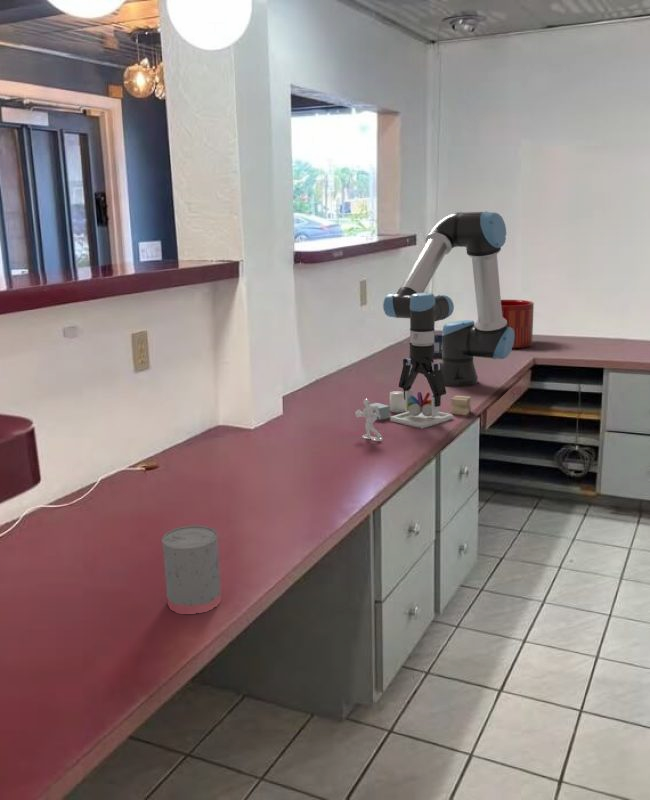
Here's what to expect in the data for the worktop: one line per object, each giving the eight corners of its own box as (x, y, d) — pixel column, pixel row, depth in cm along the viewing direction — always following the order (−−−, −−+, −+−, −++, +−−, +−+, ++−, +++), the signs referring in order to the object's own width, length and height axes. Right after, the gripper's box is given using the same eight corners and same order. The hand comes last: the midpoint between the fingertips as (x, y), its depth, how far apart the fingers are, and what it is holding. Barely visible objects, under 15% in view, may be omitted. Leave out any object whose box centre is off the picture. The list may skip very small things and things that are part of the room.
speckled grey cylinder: (193, 583, 145) (189, 521, 142) (233, 597, 140) (229, 533, 137) (155, 605, 137) (150, 540, 134) (195, 620, 132) (190, 553, 129)
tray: (421, 411, 258) (421, 407, 257) (452, 418, 249) (452, 414, 248) (390, 420, 248) (390, 416, 248) (421, 428, 239) (422, 424, 238)
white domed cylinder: (396, 407, 264) (396, 390, 262) (408, 410, 260) (408, 392, 259) (386, 410, 260) (386, 393, 259) (397, 413, 257) (397, 395, 255)
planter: (475, 342, 379) (476, 300, 374) (521, 340, 382) (523, 298, 377) (490, 350, 357) (492, 306, 352) (539, 348, 359) (541, 304, 354)
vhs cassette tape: (409, 358, 346) (409, 335, 344) (409, 356, 349) (409, 334, 346) (451, 358, 344) (451, 335, 341) (451, 356, 347) (451, 334, 344)
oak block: (455, 410, 259) (456, 395, 258) (470, 411, 257) (470, 396, 256) (451, 413, 255) (451, 398, 254) (465, 415, 253) (466, 400, 251)
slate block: (377, 414, 256) (377, 402, 256) (389, 418, 252) (389, 406, 251) (368, 416, 254) (368, 404, 253) (380, 420, 250) (380, 408, 249)
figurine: (379, 442, 226) (378, 402, 223) (351, 438, 231) (350, 398, 228) (386, 438, 230) (386, 398, 227) (359, 434, 235) (358, 395, 232)
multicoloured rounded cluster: (436, 418, 243) (436, 395, 241) (405, 417, 245) (405, 394, 243) (438, 411, 251) (438, 389, 249) (408, 410, 253) (408, 388, 251)
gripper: (386, 341, 248) (387, 409, 253) (443, 349, 232) (442, 422, 237) (402, 338, 253) (402, 404, 258) (459, 346, 237) (457, 417, 242)
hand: (421, 413), depth 248 cm, fingers closed on multicoloured rounded cluster, 10 cm apart
